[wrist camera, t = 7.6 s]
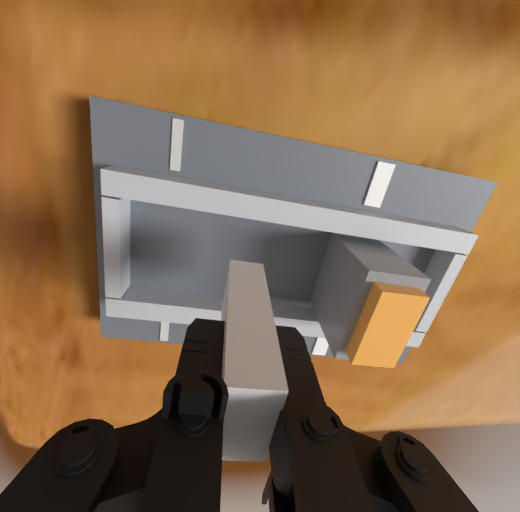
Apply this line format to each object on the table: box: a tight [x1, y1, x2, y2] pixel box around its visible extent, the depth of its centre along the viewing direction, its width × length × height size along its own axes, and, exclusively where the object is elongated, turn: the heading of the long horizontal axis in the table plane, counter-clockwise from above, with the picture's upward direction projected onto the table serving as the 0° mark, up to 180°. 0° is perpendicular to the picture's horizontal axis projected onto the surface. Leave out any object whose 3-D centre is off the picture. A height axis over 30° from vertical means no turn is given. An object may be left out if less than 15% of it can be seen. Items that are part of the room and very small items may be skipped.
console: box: [89, 96, 498, 363], centre depth 17 cm, size 14×22×4 cm, turn 79°
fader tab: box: [310, 232, 431, 368], centre depth 15 cm, size 5×3×6 cm, turn 169°
